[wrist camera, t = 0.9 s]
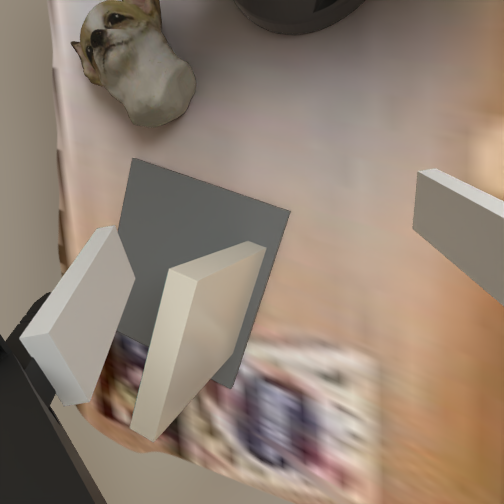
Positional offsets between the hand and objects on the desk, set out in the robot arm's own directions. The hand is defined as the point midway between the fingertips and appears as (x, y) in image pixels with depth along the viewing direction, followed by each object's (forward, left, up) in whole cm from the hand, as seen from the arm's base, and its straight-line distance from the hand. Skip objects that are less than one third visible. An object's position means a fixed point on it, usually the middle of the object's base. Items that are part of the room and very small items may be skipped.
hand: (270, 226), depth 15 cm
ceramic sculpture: (-8, -21, -18) cm, 29 cm away
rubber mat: (+11, -12, -17) cm, 24 cm away
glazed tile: (+11, -5, -17) cm, 21 cm away
